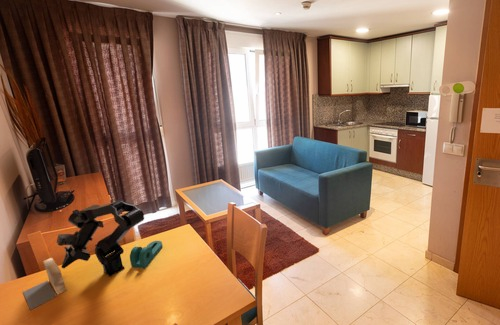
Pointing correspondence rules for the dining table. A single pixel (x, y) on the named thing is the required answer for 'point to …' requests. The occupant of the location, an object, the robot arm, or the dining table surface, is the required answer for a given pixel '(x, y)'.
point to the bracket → (144, 254)
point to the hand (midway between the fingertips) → (62, 267)
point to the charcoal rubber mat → (39, 295)
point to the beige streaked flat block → (54, 276)
